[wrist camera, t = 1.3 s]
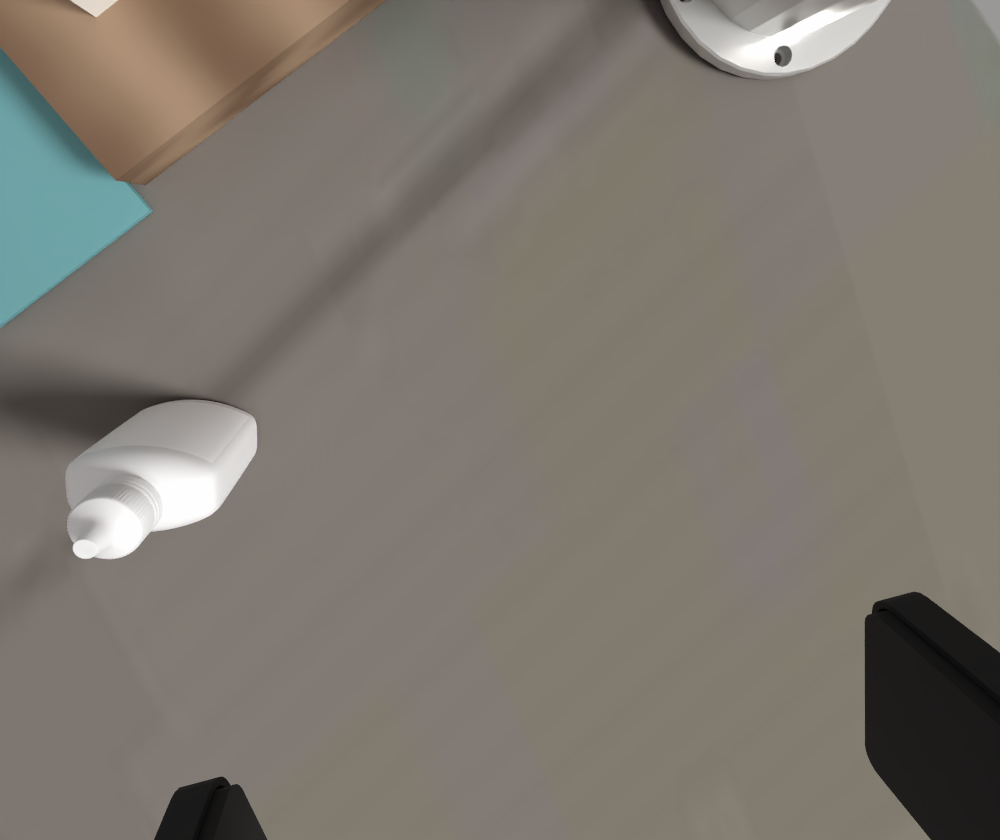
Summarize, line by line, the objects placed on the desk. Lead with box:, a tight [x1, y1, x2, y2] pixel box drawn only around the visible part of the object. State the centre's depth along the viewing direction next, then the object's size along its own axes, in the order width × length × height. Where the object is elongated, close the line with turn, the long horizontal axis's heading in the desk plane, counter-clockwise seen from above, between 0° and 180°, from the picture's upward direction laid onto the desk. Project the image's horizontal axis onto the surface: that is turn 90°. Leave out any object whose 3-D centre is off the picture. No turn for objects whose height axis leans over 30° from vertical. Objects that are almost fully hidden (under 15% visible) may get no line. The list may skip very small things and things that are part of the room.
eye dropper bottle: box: [65, 400, 257, 559], centre depth 26 cm, size 4×6×12 cm
